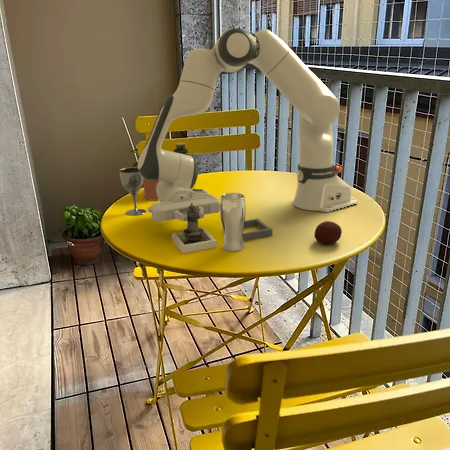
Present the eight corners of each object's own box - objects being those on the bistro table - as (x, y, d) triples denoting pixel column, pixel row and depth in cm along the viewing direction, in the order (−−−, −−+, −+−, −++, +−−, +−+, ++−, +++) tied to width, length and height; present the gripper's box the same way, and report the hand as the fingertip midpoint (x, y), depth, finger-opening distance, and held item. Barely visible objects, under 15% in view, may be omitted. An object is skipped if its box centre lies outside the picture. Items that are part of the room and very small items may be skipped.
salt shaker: (205, 238, 132) (203, 199, 128) (202, 246, 127) (200, 206, 122) (185, 238, 133) (183, 199, 128) (181, 246, 127) (179, 206, 123)
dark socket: (257, 224, 143) (257, 218, 142) (272, 235, 134) (272, 229, 133) (228, 229, 139) (228, 223, 139) (241, 241, 131) (241, 234, 130)
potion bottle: (182, 192, 176) (179, 146, 169) (168, 188, 181) (165, 144, 174) (197, 187, 181) (195, 143, 175) (183, 184, 186) (181, 140, 180)
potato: (347, 243, 128) (349, 223, 126) (326, 250, 124) (327, 230, 121) (329, 235, 134) (330, 216, 131) (307, 241, 130) (308, 222, 127)
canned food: (165, 201, 166) (162, 169, 162) (138, 198, 170) (135, 167, 166) (179, 192, 176) (177, 162, 172) (154, 190, 180) (151, 160, 176)
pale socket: (204, 234, 136) (204, 228, 135) (216, 247, 127) (216, 240, 126) (172, 240, 133) (172, 233, 132) (182, 253, 124) (182, 246, 123)
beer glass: (220, 242, 130) (218, 193, 124) (244, 241, 130) (243, 191, 125) (222, 253, 124) (220, 200, 118) (247, 251, 124) (247, 199, 118)
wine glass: (127, 217, 151) (123, 174, 146) (121, 210, 158) (116, 168, 152) (150, 213, 154) (146, 170, 149) (143, 207, 161) (139, 165, 155)
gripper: (144, 197, 133) (155, 212, 121) (210, 188, 140) (226, 201, 128) (146, 217, 136) (157, 233, 124) (210, 207, 143) (227, 222, 131)
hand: (193, 217), depth 126 cm, fingers closed on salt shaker, 3 cm apart
